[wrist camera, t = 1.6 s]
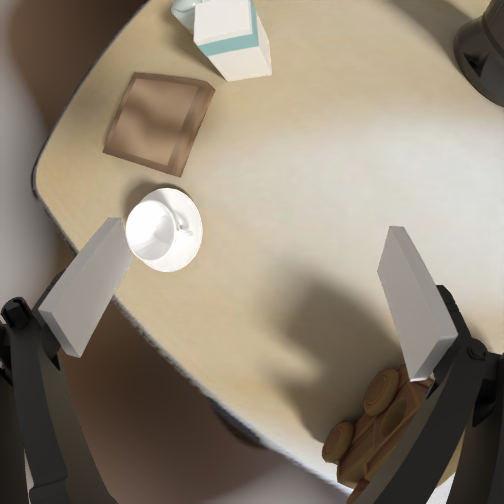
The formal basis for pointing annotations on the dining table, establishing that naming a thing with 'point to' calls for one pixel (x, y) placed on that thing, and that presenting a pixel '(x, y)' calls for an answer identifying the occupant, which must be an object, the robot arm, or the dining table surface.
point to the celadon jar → (186, 12)
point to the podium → (159, 121)
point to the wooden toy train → (378, 430)
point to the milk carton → (232, 38)
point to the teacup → (165, 230)
